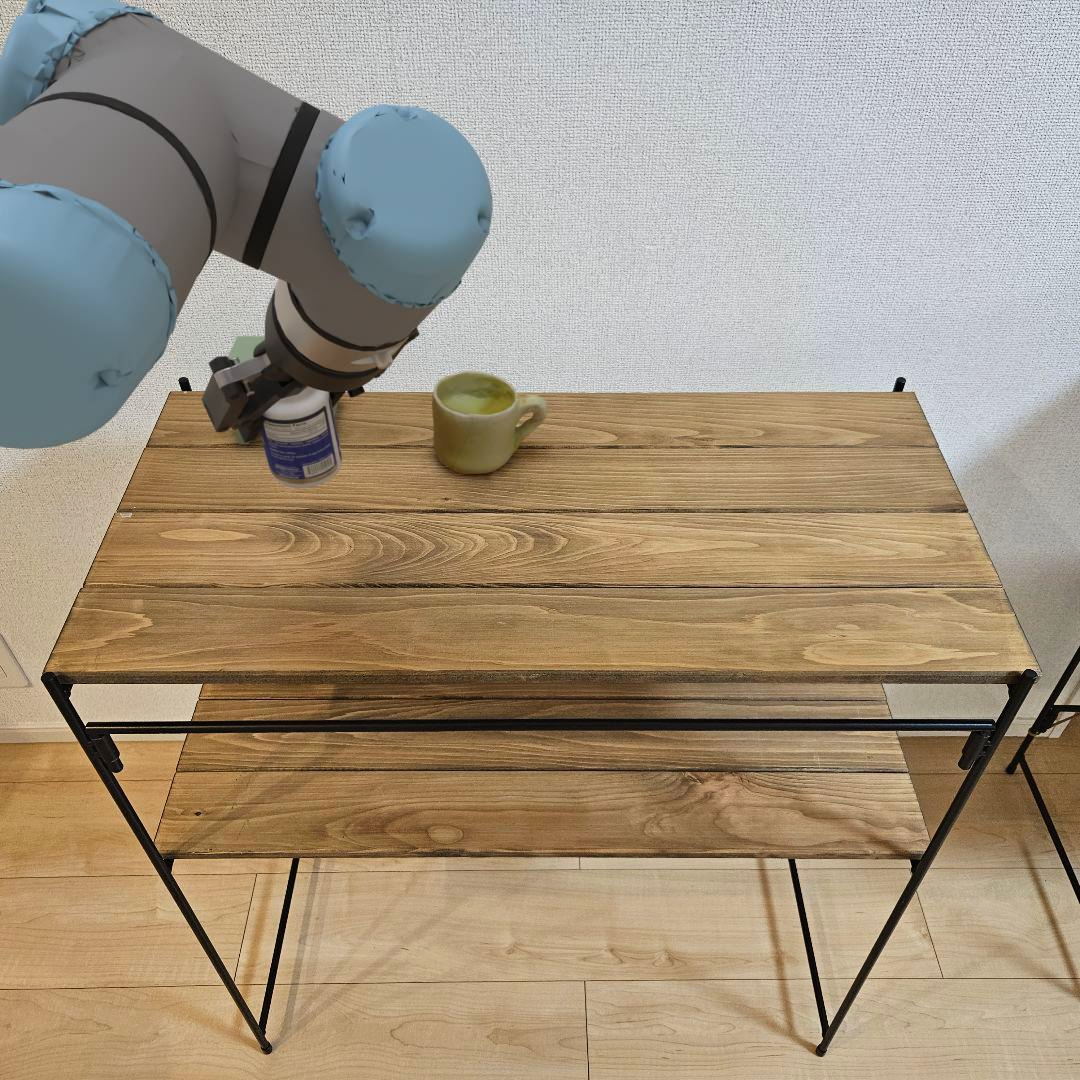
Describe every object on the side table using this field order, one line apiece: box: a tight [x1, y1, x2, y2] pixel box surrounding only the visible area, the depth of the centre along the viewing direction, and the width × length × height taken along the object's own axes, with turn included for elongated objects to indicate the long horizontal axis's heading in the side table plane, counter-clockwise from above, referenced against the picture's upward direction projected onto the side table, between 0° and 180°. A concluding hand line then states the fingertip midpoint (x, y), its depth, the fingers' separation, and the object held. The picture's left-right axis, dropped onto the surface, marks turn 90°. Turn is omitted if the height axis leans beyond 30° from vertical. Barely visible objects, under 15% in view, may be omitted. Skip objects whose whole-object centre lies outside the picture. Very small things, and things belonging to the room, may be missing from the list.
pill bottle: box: [259, 386, 343, 489], centre depth 68 cm, size 6×6×10 cm
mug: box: [431, 370, 549, 475], centre depth 96 cm, size 12×10×10 cm
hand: (280, 412), depth 71 cm, fingers closed on pill bottle, 6 cm apart
